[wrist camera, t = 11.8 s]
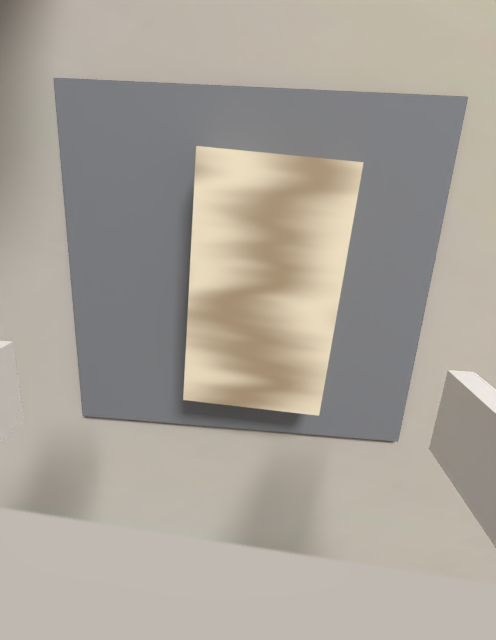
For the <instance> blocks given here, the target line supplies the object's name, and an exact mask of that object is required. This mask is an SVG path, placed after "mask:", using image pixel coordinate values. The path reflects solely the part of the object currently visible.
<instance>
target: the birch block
mask: <svg viewBox="0 0 496 640" xmlns="http://www.w3.org/2000/svg"><path fill="white" fill-rule="evenodd" d="M363 163H364V162H355V161H345V160H335V159H325V158H314V157H304V156H294V155H284V154H274V153H264V152H253V151H243V150H233V149H223V148H213V147H203V146H196V160H195V179H194V199H193V218H192V238H191V257H190V277H189V296H188V316H187V335H186V355H185V374H184V394H183V400H188V401H197V402H205V403H214V404H223V405H231V406H240V407H248V408H257V409H265V410H274V411H283V412H291V413H300V414H308V415H317V416H319V413H320V408H321V402H322V396H323V391H324V385H325V379H326V374H327V368H328V362H329V356H330V351H331V345H332V339H333V334H334V328H335V322H336V317H337V311H338V305H339V300H340V294H341V288H342V283H343V277H344V271H345V266H346V260H347V254H348V248H349V243H350V237H351V231H352V226H353V220H354V214H355V209H356V203H357V197H358V192H359V186H360V180H361V175H362V169H363Z"/></svg>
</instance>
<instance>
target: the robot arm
mask: <svg viewBox="0 0 496 640" xmlns="http://www.w3.org/2000/svg"><path fill="white" fill-rule="evenodd" d="M23 421H24V415H23V408H22V401H21V394H20V387H19V381H18V374H17V367H16V360H15V354H14V347H13V342H11V341H0V442H1V441H2V440H4V439H5V438H6V437H7V436H8V435H9V434H10V433H11V432H12V431H13V430H14V429H16V428H17V427H18V426H19V425H20V424H21V423H22V422H23ZM429 449H430V451H431V452H432V454H433V455H434V457H435V458H436V460H437V461H438V463H439V464H440V466H441V467H442V469H443V470H444V472H445V473H446V475H447V476H448V478H449V479H450V480H451V482H452V483H453V485H454V486H455V488H456V489H457V491H458V492H459V494H460V495H461V497H462V498H463V500H464V501H465V503H466V504H467V506H468V507H469V509H470V510H471V512H472V513H473V515H474V516H475V518H476V519H477V521H478V522H479V524H480V525H481V526H482V528H483V529H484V531H485V532H486V534H487V535H488V537H489V538H490V540H491V541H492V543H493V544H494V546H495V547H496V389H494V388H493V387H492V386H491V385H490V384H488V383H487V382H486V381H485V380H483V379H482V378H481V377H480V376H478V375H477V374H476V373H475V372H466V371H451V370H448V372H447V377H446V381H445V385H444V389H443V393H442V397H441V402H440V406H439V410H438V414H437V418H436V422H435V427H434V431H433V435H432V439H431V443H430V447H429Z"/></svg>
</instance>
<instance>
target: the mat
mask: <svg viewBox="0 0 496 640" xmlns="http://www.w3.org/2000/svg"><path fill="white" fill-rule="evenodd" d="M54 88H55V100H56V112H57V123H58V135H59V146H60V158H61V170H62V181H63V193H64V204H65V216H66V228H67V239H68V251H69V262H70V274H71V286H72V297H73V309H74V320H75V332H76V344H77V355H78V367H79V378H80V390H81V402H82V413H83V416H89V417H102V418H114V419H126V420H139V421H151V422H163V423H176V424H188V425H200V426H212V427H225V428H237V429H249V430H262V431H274V432H286V433H298V434H311V435H323V436H335V437H348V438H360V439H372V440H384V441H397V442H398V439H399V434H400V430H401V425H402V420H403V415H404V410H405V405H406V400H407V395H408V390H409V385H410V380H411V375H412V371H413V366H414V361H415V356H416V351H417V346H418V341H419V336H420V331H421V326H422V321H423V316H424V311H425V307H426V302H427V297H428V292H429V287H430V282H431V277H432V272H433V267H434V262H435V257H436V252H437V247H438V243H439V238H440V233H441V228H442V223H443V218H444V213H445V208H446V203H447V198H448V193H449V188H450V184H451V179H452V174H453V169H454V164H455V159H456V154H457V149H458V144H459V139H460V134H461V129H462V124H463V120H464V115H465V110H466V105H467V100H468V97H463V96H441V95H419V94H398V93H376V92H354V91H332V90H310V89H288V88H266V87H244V86H222V85H200V84H178V83H156V82H134V81H112V80H90V79H69V78H54ZM196 146H203V147H213V148H223V149H233V150H243V151H253V152H264V153H274V154H284V155H294V156H304V157H314V158H325V159H335V160H345V161H355V162H364V163H363V169H362V175H361V180H360V186H359V192H358V197H357V203H356V209H355V214H354V220H353V226H352V231H351V237H350V243H349V248H348V254H347V260H346V266H345V271H344V277H343V283H342V288H341V294H340V300H339V305H338V311H337V317H336V322H335V328H334V334H333V339H332V345H331V351H330V356H329V362H328V368H327V374H326V379H325V385H324V391H323V396H322V402H321V408H320V413H319V416H317V415H308V414H300V413H291V412H283V411H274V410H265V409H257V408H248V407H240V406H231V405H223V404H214V403H205V402H197V401H188V400H183V394H184V374H185V355H186V335H187V316H188V296H189V277H190V257H191V238H192V218H193V199H194V179H195V160H196Z"/></svg>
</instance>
